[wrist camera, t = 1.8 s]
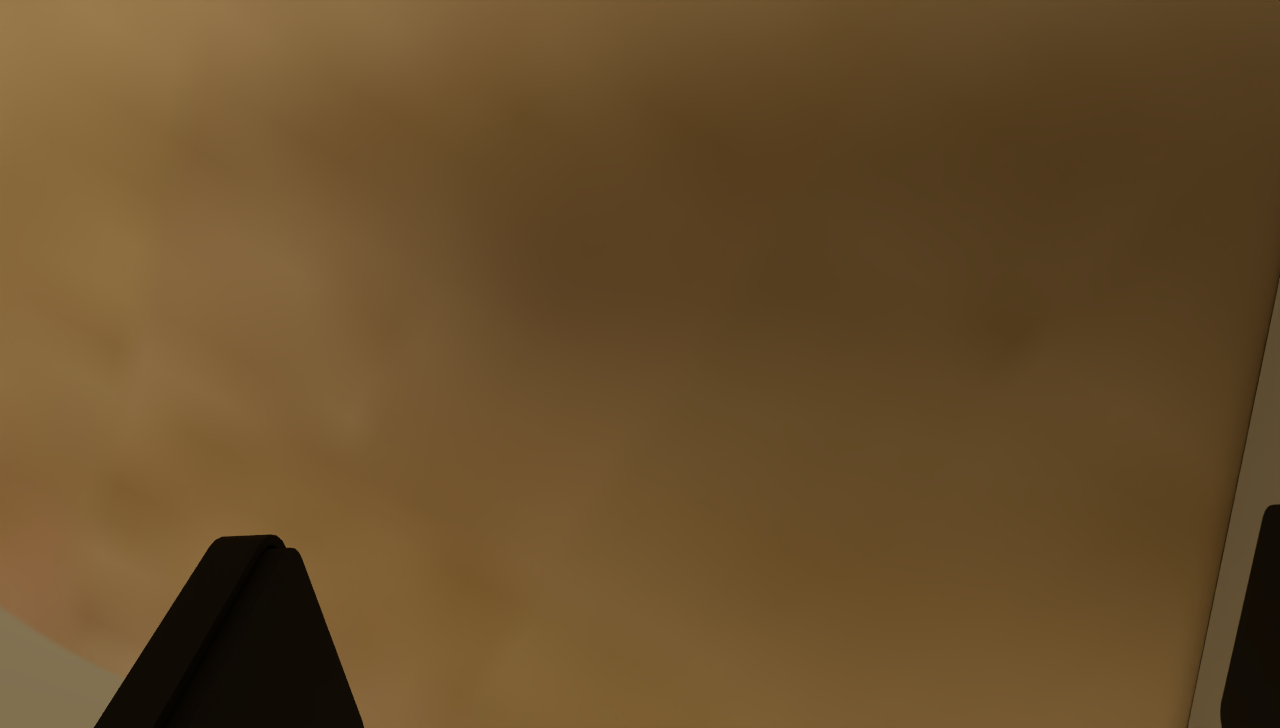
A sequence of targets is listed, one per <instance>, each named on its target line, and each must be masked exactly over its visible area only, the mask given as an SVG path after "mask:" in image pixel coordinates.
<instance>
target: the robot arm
mask: <svg viewBox="0 0 1280 728" xmlns="http://www.w3.org/2000/svg"><path fill="white" fill-rule="evenodd" d="M1220 720H1221V726H1222V728H1280V504H1275V505H1270V506H1268V507H1267V509H1266V510H1265V512H1264V515H1263V518H1262V522H1261V527H1260V531H1259V535H1258V540H1257V544H1256V549H1255V553H1254V558H1253V562H1252V567H1251V571H1250V576H1249V580H1248V585H1247V589H1246V593H1245V598H1244V602H1243V607H1242V611H1241V616H1240V620H1239V625H1238V629H1237V634H1236V638H1235V642H1234V647H1233V651H1232V656H1231V660H1230V665H1229V669H1228V674H1227V678H1226V683H1225V687H1224V692H1223V696H1222V700H1221V707H1220ZM94 728H364V726H363V722H362V719H361V716H360V714H359V711H358V708H357V705H356V703H355V700H354V697H353V695H352V692H351V689H350V687H349V684H348V681H347V679H346V676H345V673H344V670H343V668H342V665H341V662H340V660H339V657H338V654H337V652H336V649H335V646H334V643H333V641H332V638H331V635H330V633H329V630H328V627H327V625H326V622H325V619H324V617H323V614H322V611H321V608H320V606H319V603H318V600H317V598H316V595H315V592H314V590H313V587H312V584H311V581H310V579H309V576H308V573H307V571H306V568H305V565H304V563H303V560H302V558H301V556H300V554H299V552H298V551H297V550H296V549H295V548H286V547H285V545H284V543H283V541H282V540H281V539H280V538H279V537H278V536H276V535H250V536H228V537H221V538H219V539H216V540H215V541H214V542H213V543H212V545H211V546H210V547H209V548H208V550H207V551H206V553H205V555H204V556H203V558H202V559H201V561H200V562H199V564H198V566H197V567H196V569H195V570H194V572H193V573H192V575H191V576H190V578H189V580H188V581H187V583H186V584H185V586H184V587H183V589H182V591H181V592H180V594H179V595H178V597H177V598H176V600H175V601H174V603H173V605H172V606H171V608H170V609H169V611H168V612H167V614H166V616H165V617H164V619H163V620H162V622H161V623H160V625H159V627H158V628H157V630H156V631H155V633H154V634H153V636H152V637H151V639H150V641H149V642H148V644H147V645H146V647H145V648H144V650H143V652H142V653H141V655H140V656H139V658H138V659H137V661H136V662H135V664H134V666H133V667H132V669H131V670H130V672H129V673H128V675H127V677H126V678H125V680H124V681H123V683H122V684H121V686H120V688H119V689H118V691H117V692H116V694H115V695H114V697H113V698H112V700H111V702H110V703H109V705H108V706H107V708H106V709H105V711H104V712H103V714H102V716H101V717H100V719H99V720H98V722H97V724H96V725H95V727H94Z"/></svg>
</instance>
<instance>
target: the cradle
mask: <svg viewBox="0 0 1280 728" xmlns="http://www.w3.org/2000/svg"><path fill="white" fill-rule="evenodd" d="M1275 504H1280V279H1279V284H1278V289H1277V294H1276V299H1275V304H1274V309H1273V314H1272V319H1271V323H1270V328H1269V333H1268V338H1267V343H1266V348H1265V353H1264V358H1263V362H1262V367H1261V372H1260V377H1259V382H1258V387H1257V392H1256V397H1255V401H1254V406H1253V411H1252V416H1251V421H1250V426H1249V431H1248V436H1247V441H1246V445H1245V450H1244V455H1243V460H1242V465H1241V470H1240V475H1239V480H1238V484H1237V489H1236V494H1235V499H1234V504H1233V509H1232V514H1231V519H1230V523H1229V528H1228V533H1227V538H1226V543H1225V548H1224V553H1223V558H1222V563H1221V567H1220V572H1219V577H1218V582H1217V587H1216V592H1215V597H1214V602H1213V606H1212V611H1211V616H1210V621H1209V626H1208V631H1207V636H1206V641H1205V645H1204V650H1203V655H1202V660H1201V665H1200V670H1199V675H1198V680H1197V685H1196V689H1195V694H1194V699H1193V704H1192V709H1191V714H1190V719H1189V724H1188V728H1222V726H1221V720H1220V707H1221V700H1222V696H1223V692H1224V687H1225V683H1226V678H1227V674H1228V669H1229V665H1230V660H1231V656H1232V651H1233V647H1234V642H1235V638H1236V634H1237V629H1238V625H1239V620H1240V616H1241V611H1242V607H1243V602H1244V598H1245V593H1246V589H1247V585H1248V580H1249V576H1250V571H1251V567H1252V562H1253V558H1254V553H1255V549H1256V544H1257V540H1258V535H1259V531H1260V527H1261V522H1262V518H1263V515H1264V512H1265V510H1266V509H1267V507H1268V506H1270V505H1275Z"/></svg>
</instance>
